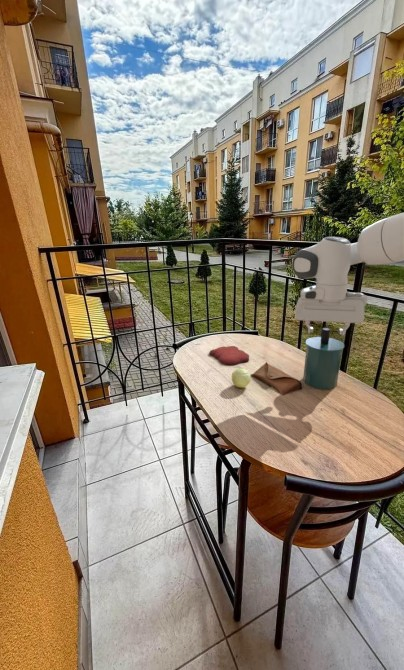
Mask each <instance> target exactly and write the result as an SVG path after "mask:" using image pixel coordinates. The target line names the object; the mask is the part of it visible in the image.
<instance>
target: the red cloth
mask: <svg viewBox="0 0 404 670" xmlns="http://www.w3.org/2000/svg"><path fill="white" fill-rule="evenodd" d="M208 353H209V355H210V356H212V355H213V356H212V357H214V358H215V359H217V358H218V359H217V360H218V361H219V362H220V363H221V364H224V365H228V366H229V365H230V366H232V365H233V366H234V365H237V364H239V363H246V362H249V361H250V355H249V354H248V353H247V352H245V351H244V350H242V349H239V347H238V346H235V345H229V346H219V347H216V348H214V349H211V350H209V352H208Z"/></svg>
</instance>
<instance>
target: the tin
mask: <svg viewBox="0 0 404 670" xmlns="http://www.w3.org/2000/svg"><path fill="white" fill-rule="evenodd" d="M305 346H306V347H305V355H304V356H305V357H304V367H303V378H302V380H303V382H304V384H305V385H307V386H308V387H311V388H312V389H316V390H322V391H324V390H325V391H328V390H332V389H335V388H336V387H337V386H338V379H339V372H340V366H341V359H342V352H343V350H340V351H336V352H324V351H318V350H314V349H312V348H310V347H308V346H307V345H305Z"/></svg>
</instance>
